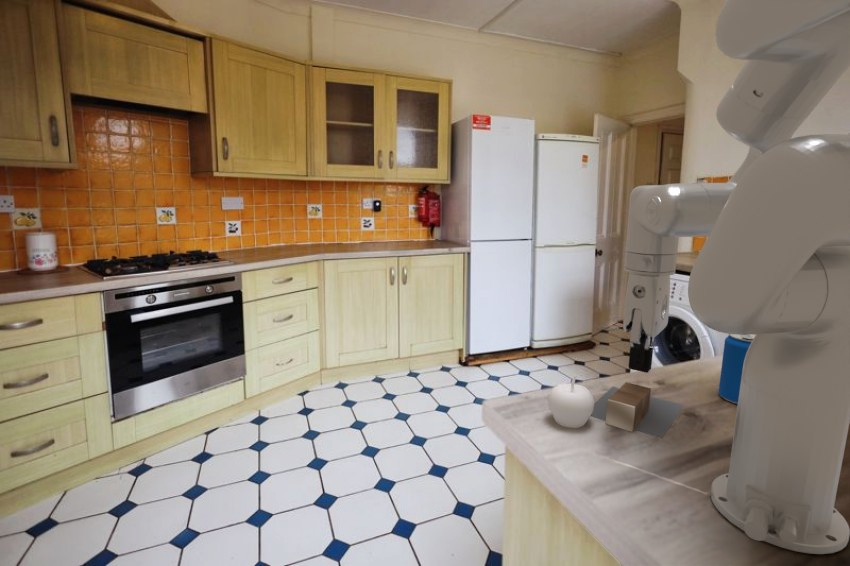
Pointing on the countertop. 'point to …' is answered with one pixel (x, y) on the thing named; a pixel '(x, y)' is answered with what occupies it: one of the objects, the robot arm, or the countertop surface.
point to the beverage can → (733, 365)
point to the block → (628, 406)
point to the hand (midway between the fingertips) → (639, 369)
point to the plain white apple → (571, 404)
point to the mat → (655, 418)
